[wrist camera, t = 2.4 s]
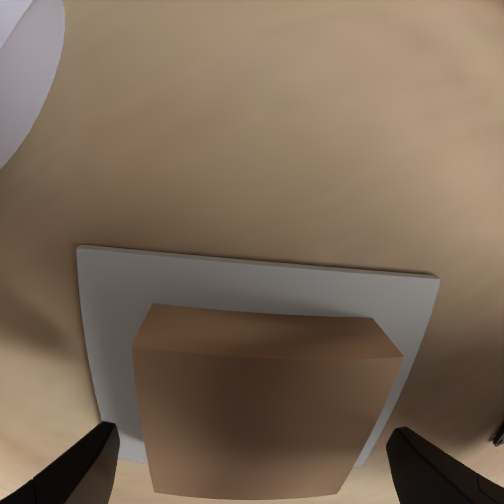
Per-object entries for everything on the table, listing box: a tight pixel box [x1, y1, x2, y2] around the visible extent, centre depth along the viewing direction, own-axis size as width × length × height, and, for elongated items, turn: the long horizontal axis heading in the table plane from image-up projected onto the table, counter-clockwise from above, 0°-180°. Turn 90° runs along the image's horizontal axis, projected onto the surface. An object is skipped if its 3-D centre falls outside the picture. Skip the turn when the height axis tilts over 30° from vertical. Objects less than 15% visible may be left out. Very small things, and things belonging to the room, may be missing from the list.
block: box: [132, 303, 404, 500], centre depth 9 cm, size 7×7×2 cm
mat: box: [76, 245, 442, 467], centre depth 11 cm, size 12×10×1 cm
